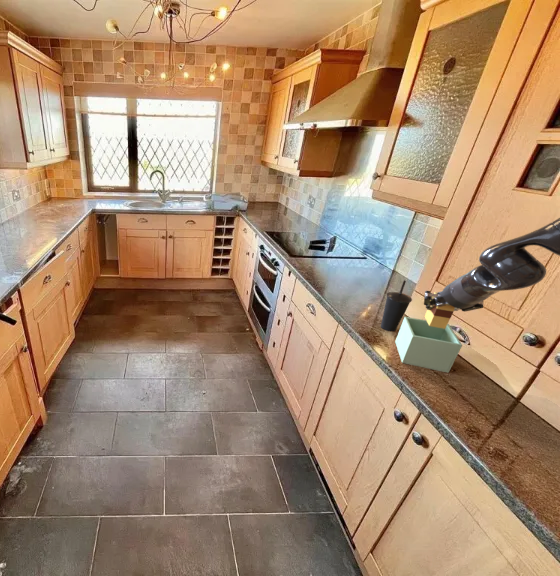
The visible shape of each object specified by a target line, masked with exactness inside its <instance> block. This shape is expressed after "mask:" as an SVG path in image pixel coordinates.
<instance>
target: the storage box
mask: <svg viewBox="0 0 560 576" xmlns="http://www.w3.org/2000/svg"><path fill="white" fill-rule="evenodd" d="M403 317H404V318H403V320H402V323H401V325H400V327H399V330H398V333H397V336H396V339H395V341H394V343H395V346H396V349H397V352H398V354H399V359H400V361H401V363H402V364H406V365H410V366H414V367H419V368H423V369H429V370H433V371H437V372H443V373H447V374H448V373H449V372H450V371H451V369H452V367H453V366H454V363H455V361H456V359H457V357H458V355H459V353H460V351H461V349H462V347H463V344H462V343H461V341H460V339H459V338H458V336H457V334H456V333H455V331H454V330H453V328H452V326H451V325H450V324H449V323H448V324H447V326H446V328H445V329H443V328H437V327H432V326H429V324H428V322H427V321H426V319H421V318H415V317H410V316H403Z"/></svg>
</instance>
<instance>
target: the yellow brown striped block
mask: <svg viewBox="0 0 560 576" xmlns="http://www.w3.org/2000/svg"><path fill="white" fill-rule="evenodd" d="M438 292H439V291H434V293H433V294H437V293H438ZM454 312H455V311H454V307H453V306H451V305H448V306H447V305H445V306H442V307H439V306H436V307H434V308H433V309H431V310H427V309H426V312H425V314H424V317H423V318H425V319H424V320H426V321H427V322H428V324H429V326H432V327H437V328H443V329H445V328H446V326H447V324H449V322H450V319H451V318H452V316H453V315H454Z"/></svg>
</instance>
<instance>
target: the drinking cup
mask: <svg viewBox="0 0 560 576" xmlns="http://www.w3.org/2000/svg"><path fill="white" fill-rule="evenodd" d="M402 281H403V282H402V284H401V288H400V290H399V291H390V292H387V293H386V300H385V304H384V308H383V315H382V319H381V323H380V328H381V329H382V330H384V331H386V332H390V333H391V332H392V333H393V332H395V331H396V330H397V328H398V326H399V325H400V323H401V321H402V319H403V317H404V315H405V313H406V311H407V309H408V307H409V305H410V303H411V302H413V298H412V296H409V295H408V294H406V293H403V291H404V288H405V286H406V283H407V280H405V279H404V280H402Z"/></svg>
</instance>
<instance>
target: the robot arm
mask: <svg viewBox="0 0 560 576" xmlns="http://www.w3.org/2000/svg"><path fill="white" fill-rule="evenodd" d="M531 246H534V247H535V246H536V247H541V248H543V249H545V250H547V251H549V252H550V253H552V254H554V255H556V256H558V257H560V217H558V218H557V219H555V220H552V221H551V222H549V223H548V224H546V225H543V226H542V227H540V228H537V229H535V230H533V231H531V232H528V233H525V234H523V235H520V236H518V237H517V236H516V237H514V238H511V239H508V240H505V241H501V242H499V243H495V244H492V245H491V246H488V247H487V248H485V249H484V250H483V251H482V252H481V254H480V255H479V258H478V262H479V263H480V265H478V266H476V267H474V268H472V269H471V270H470V271H468V272H467V273H465V274H463V275H460V276H459V277H458V278H456V279H455V280H453V281H451V282H450V283H449V284H447V285H446V286H445V287H444V288H443V289H442V291H437V292H438V293H437V294H434V293H433V292H431V291H430V290H425V291H424V297H423V299H424V300H423V305H424V306H425V309H426V311H427V310H431V309H433V308H434V307H436V306H439V307H442V306H445V305H447V306H448V305H451V306H453V307H454V312H458V311H461V312H464V313H465V312H470V311H475V310H480V309H483V308H484V301H485V300H487V299H489V298H490V297H491V296H493V295H495V294H497V293H499V292H503V291H505V292H506V291H514V290H522V289H525V288H529V287H530V288H531V287H532V286H534V285H537V284H539V283H540V282H542V281H543V280H544V278H545V277H546V275H547V267H546V266H545V265H544V264H543V263H542V262H541V261H540V260H539V259H537V258H536V257H535V256H534V255H533V254H532V253H531V252H530V251H528V250H527V249H526V248H527V247H531Z"/></svg>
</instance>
